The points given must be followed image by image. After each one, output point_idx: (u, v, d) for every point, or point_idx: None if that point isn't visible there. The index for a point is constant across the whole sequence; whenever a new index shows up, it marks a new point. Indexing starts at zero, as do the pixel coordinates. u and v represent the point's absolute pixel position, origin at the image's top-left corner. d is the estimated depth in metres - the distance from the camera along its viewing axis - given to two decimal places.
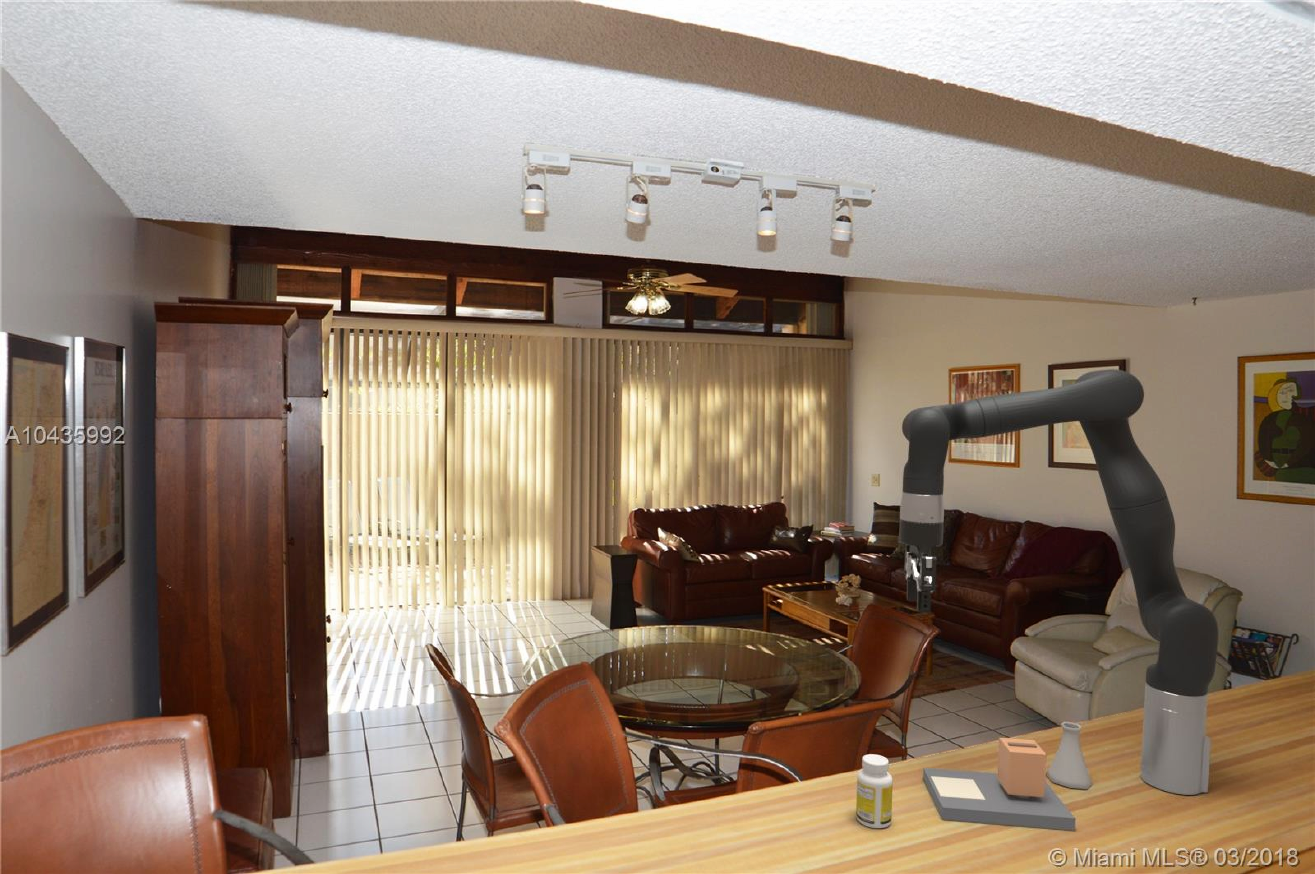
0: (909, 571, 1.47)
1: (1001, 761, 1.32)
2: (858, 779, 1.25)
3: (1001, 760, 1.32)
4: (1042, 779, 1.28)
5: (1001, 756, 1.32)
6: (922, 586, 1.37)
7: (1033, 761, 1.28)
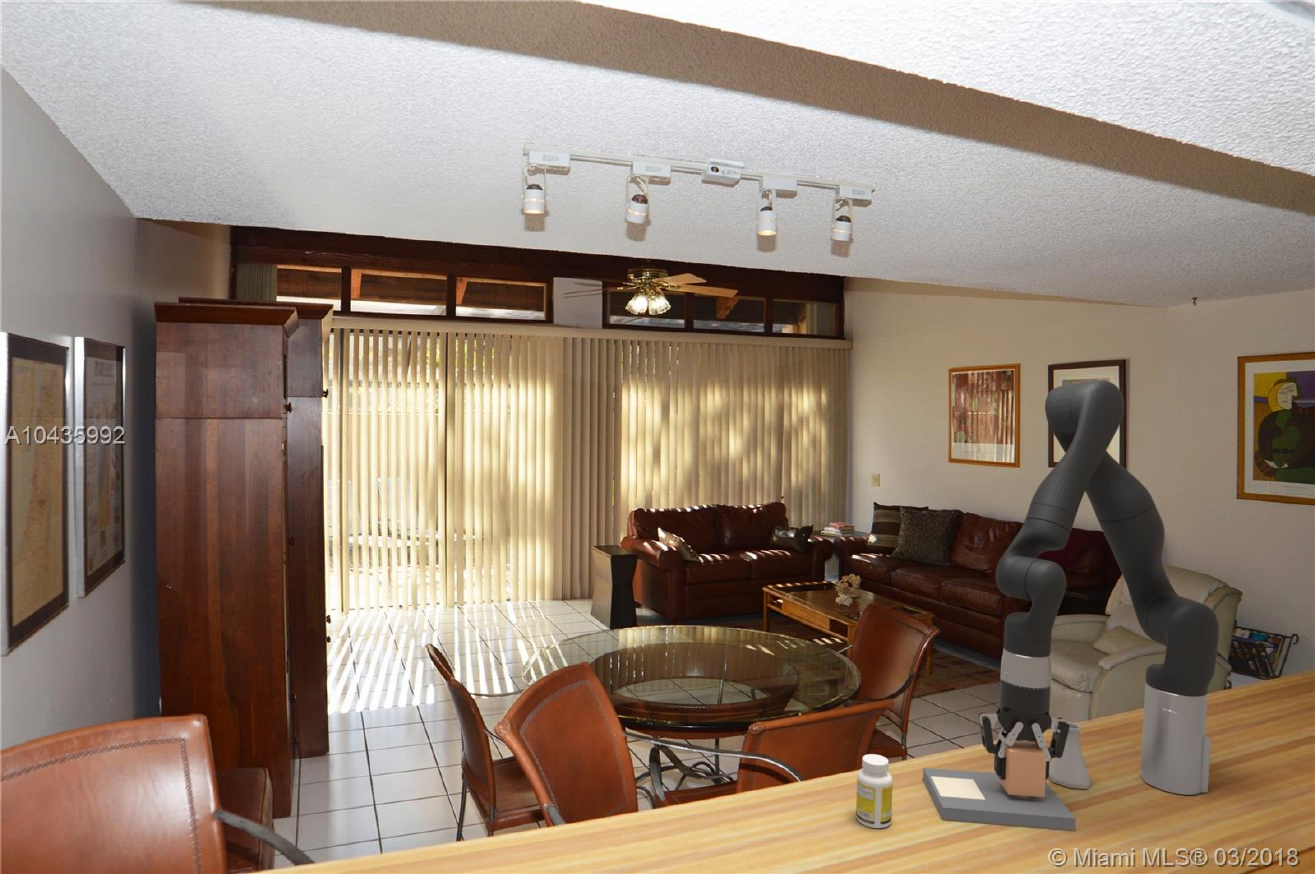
0: None
1: None
2: (858, 779, 1.25)
3: None
4: (1042, 779, 1.28)
5: None
6: (1062, 753, 1.29)
7: (1033, 761, 1.28)
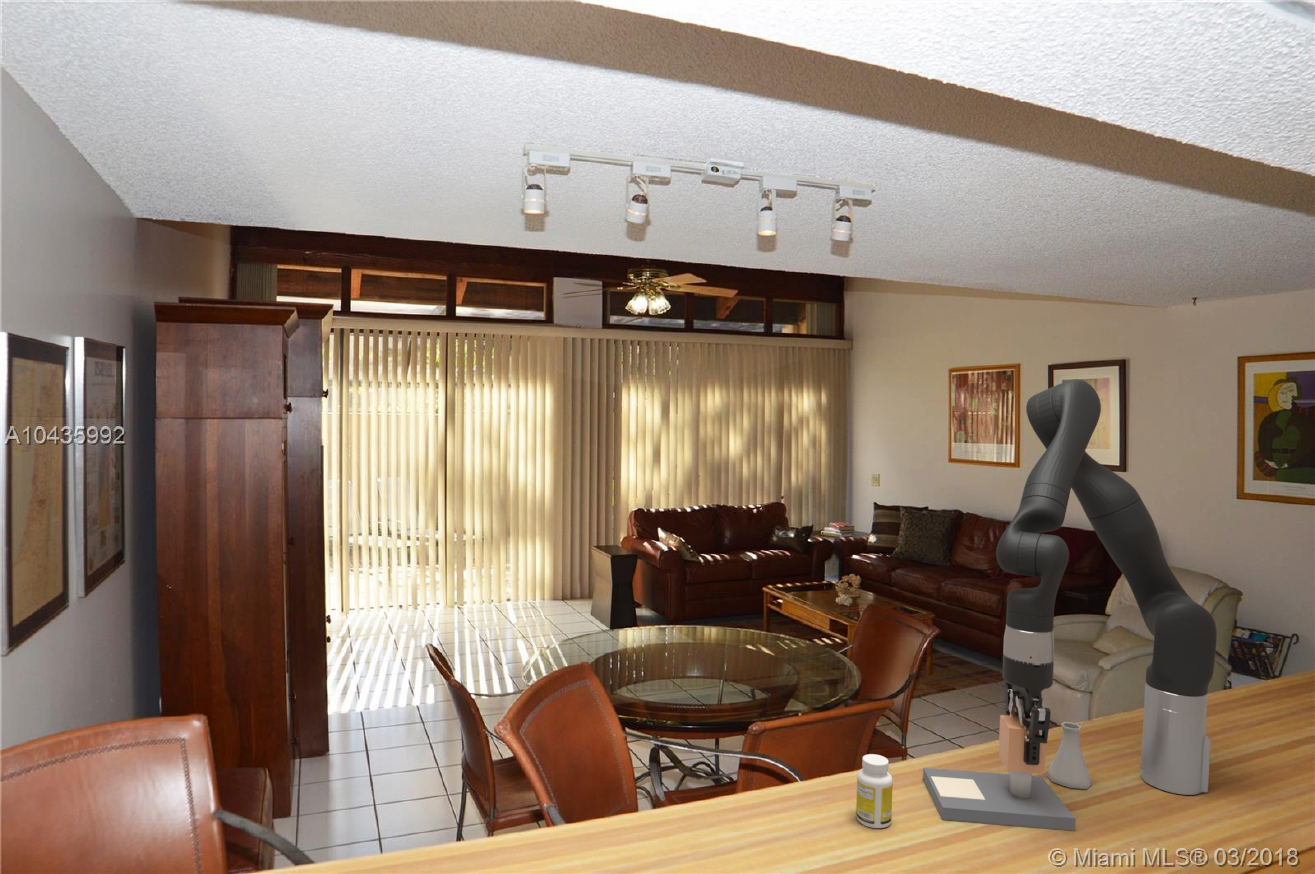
0: None
1: (1019, 749, 1.28)
2: (858, 779, 1.25)
3: (1020, 747, 1.28)
4: None
5: (1019, 744, 1.28)
6: None
7: None
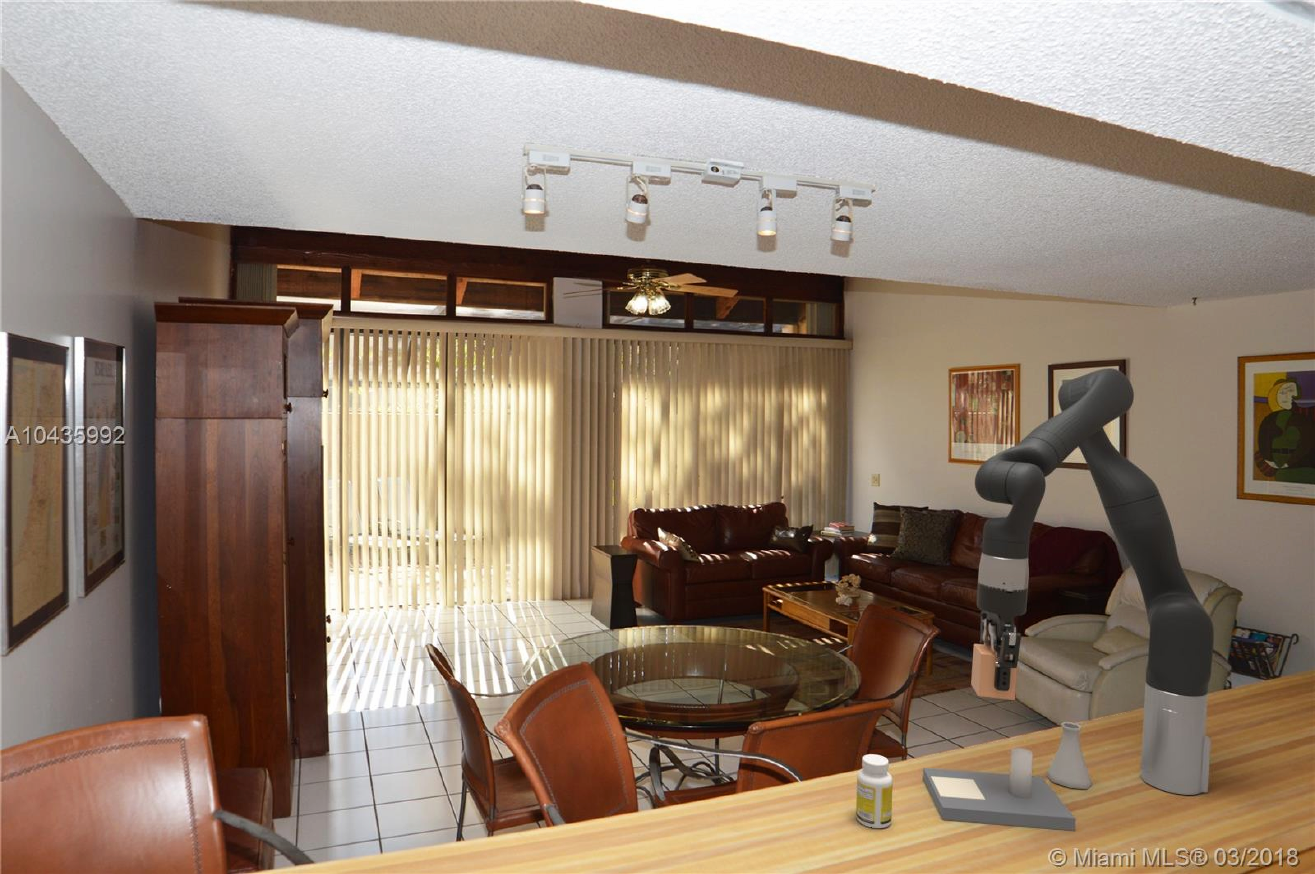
0: None
1: (990, 675, 1.29)
2: (858, 779, 1.25)
3: (991, 673, 1.29)
4: None
5: (990, 670, 1.29)
6: None
7: None
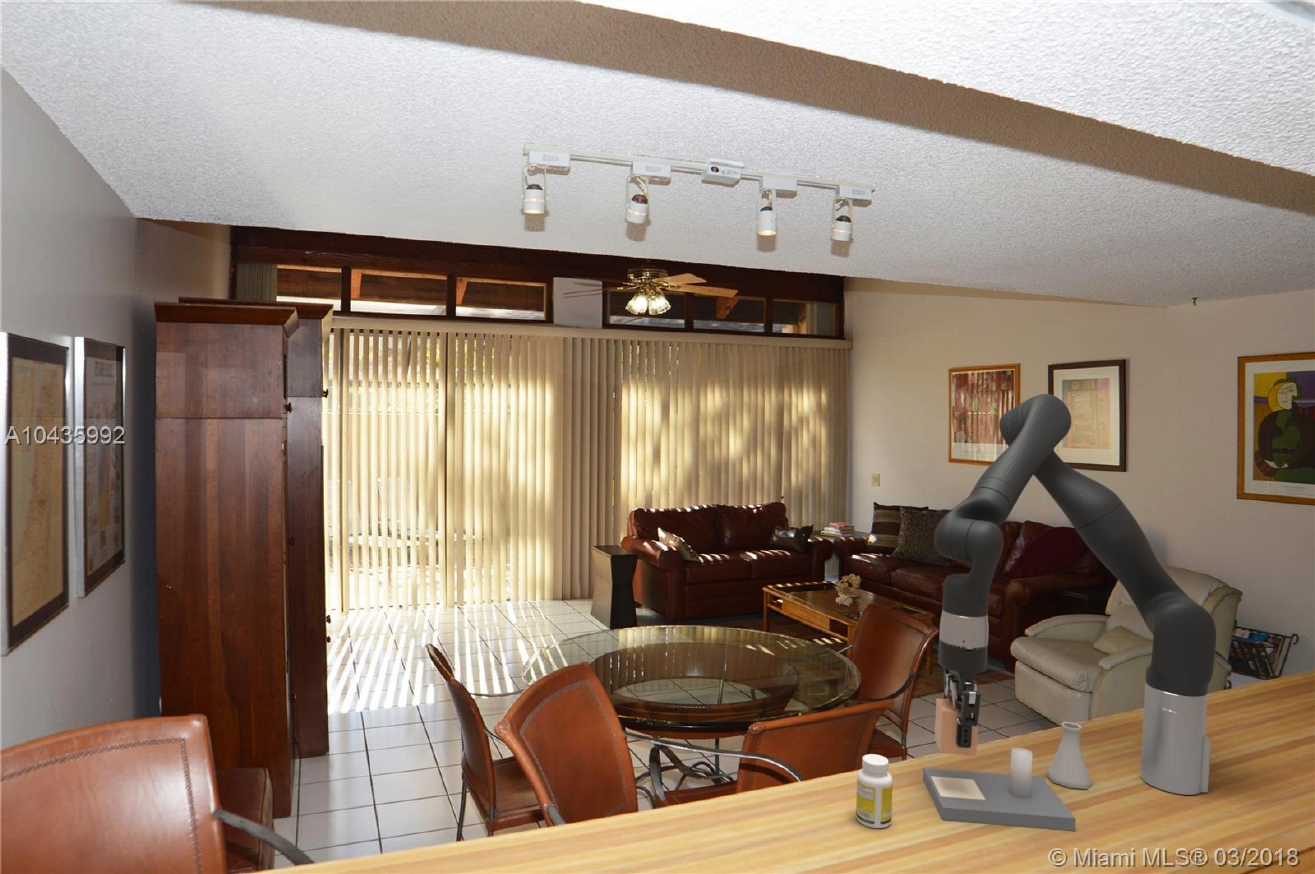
0: None
1: (952, 731, 1.30)
2: (858, 779, 1.25)
3: (952, 730, 1.30)
4: None
5: (951, 727, 1.30)
6: None
7: None
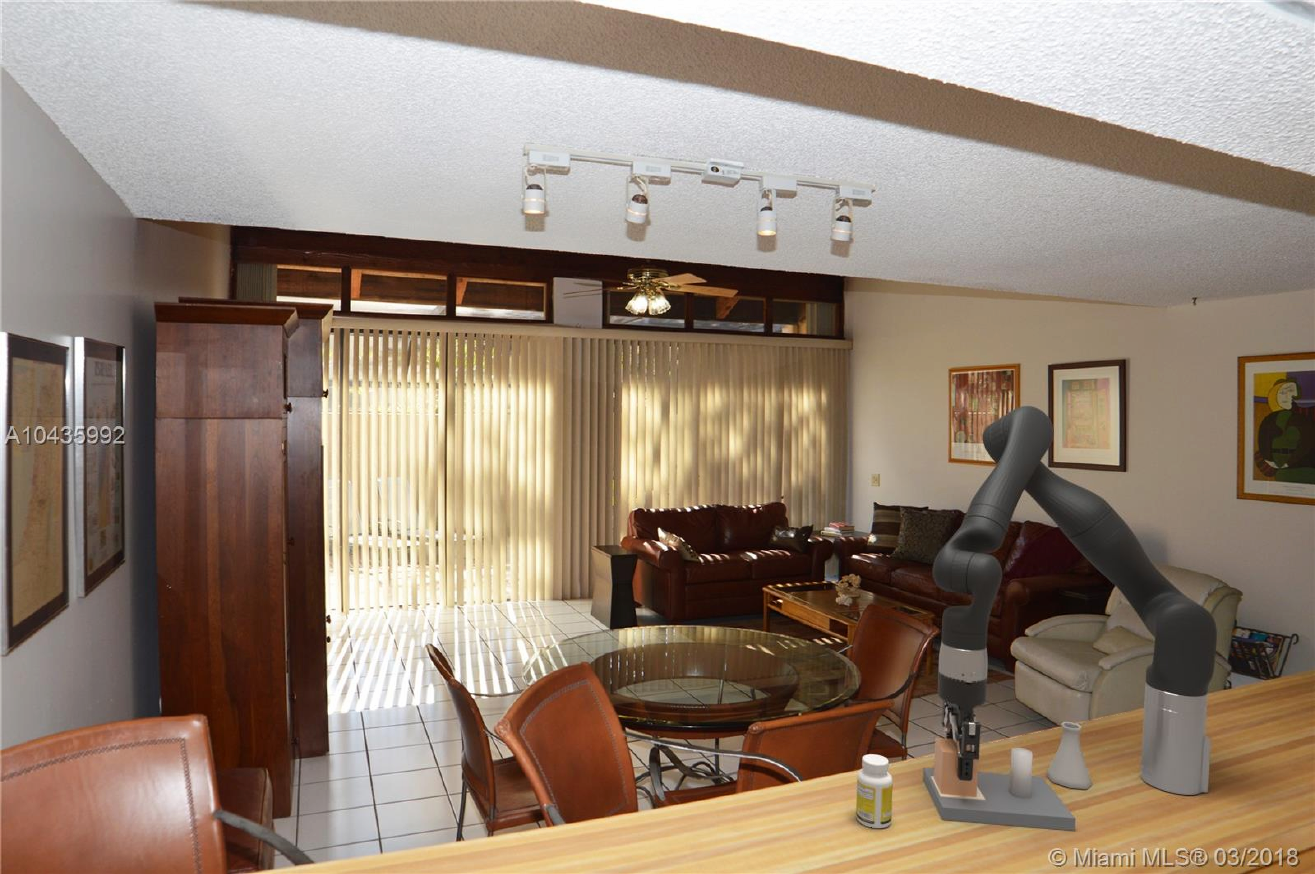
0: None
1: (952, 772, 1.30)
2: (858, 779, 1.25)
3: (953, 771, 1.30)
4: None
5: (952, 767, 1.30)
6: None
7: None
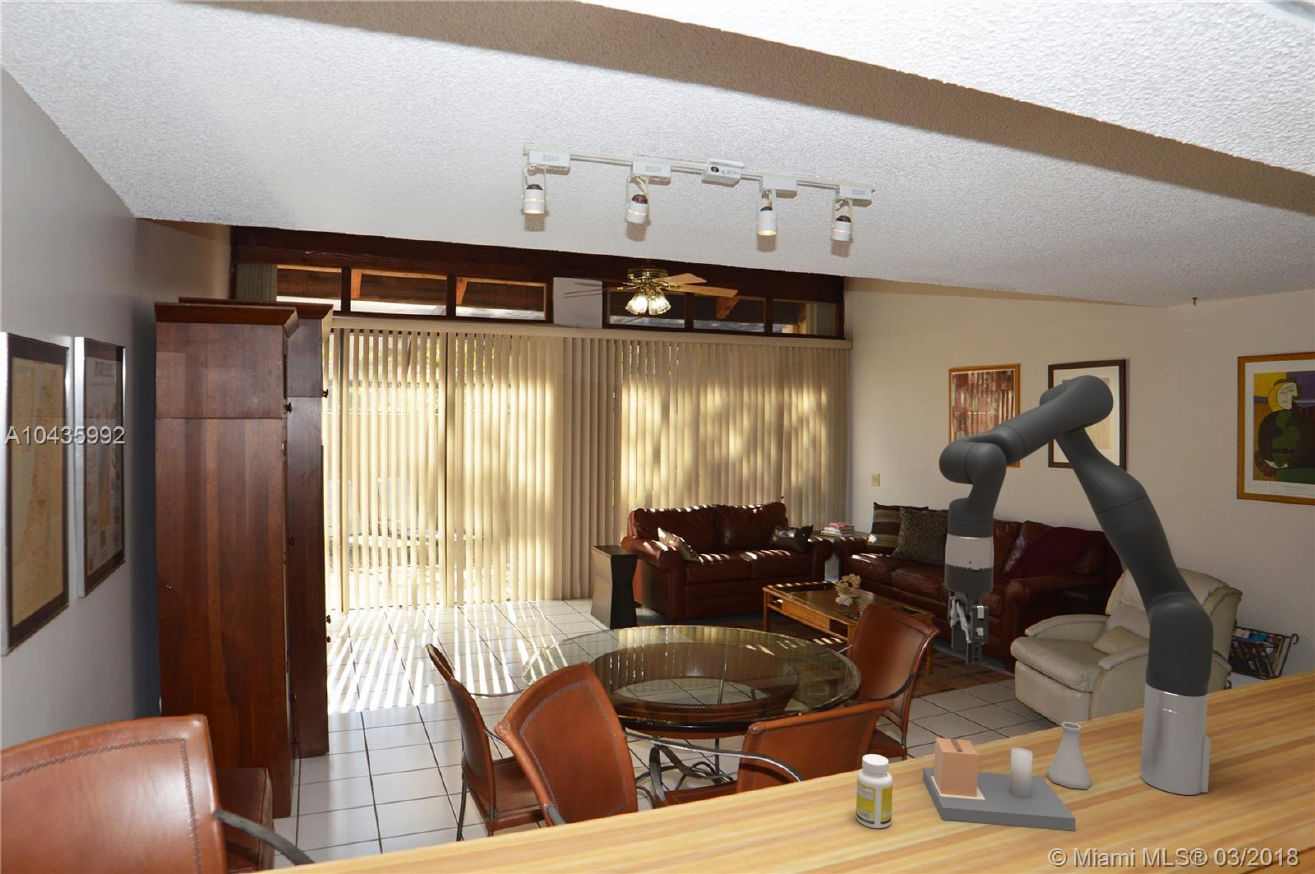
0: None
1: (952, 772, 1.30)
2: (858, 779, 1.25)
3: (953, 771, 1.30)
4: None
5: (952, 767, 1.30)
6: None
7: None
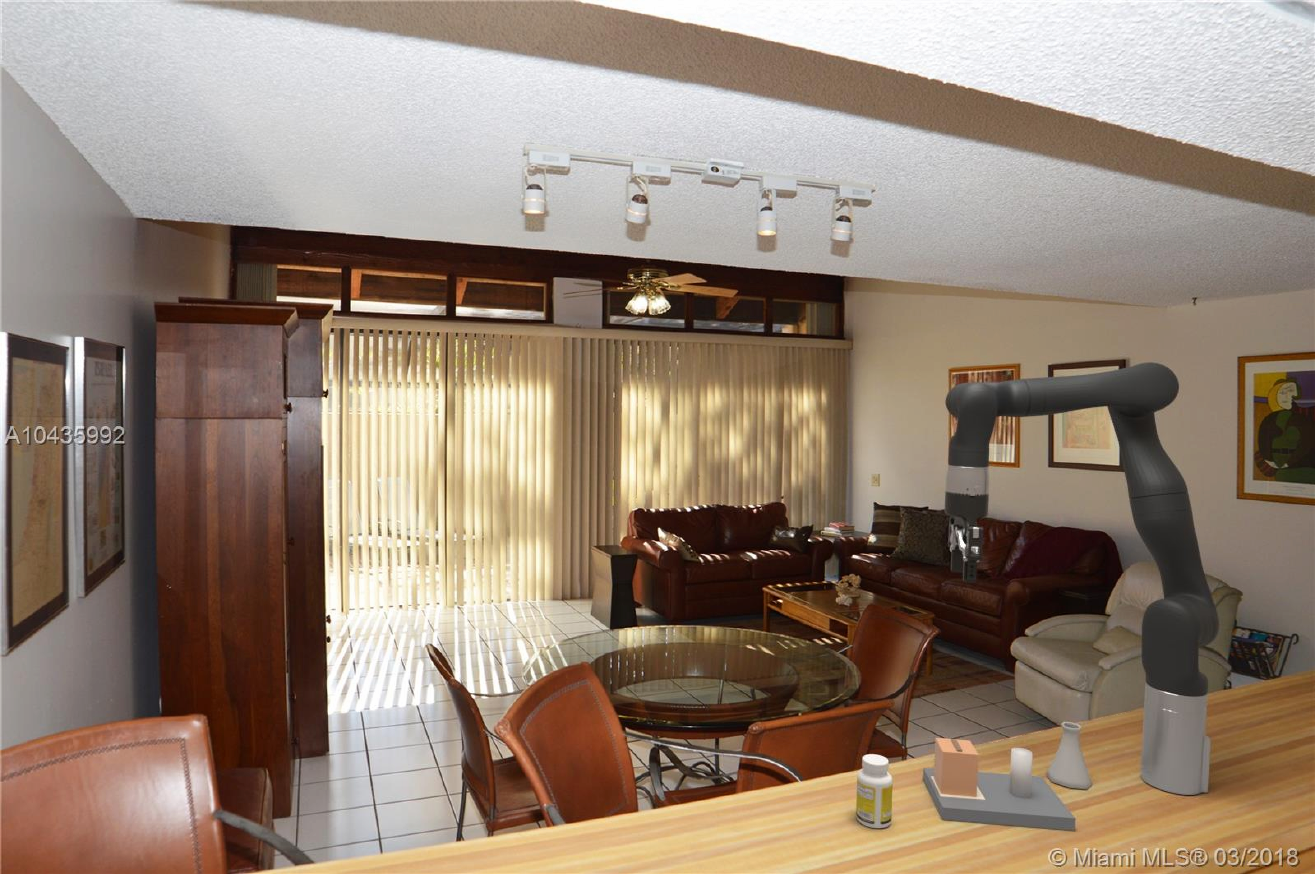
0: None
1: (952, 772, 1.30)
2: (858, 779, 1.25)
3: (953, 771, 1.30)
4: None
5: (952, 767, 1.30)
6: None
7: None
